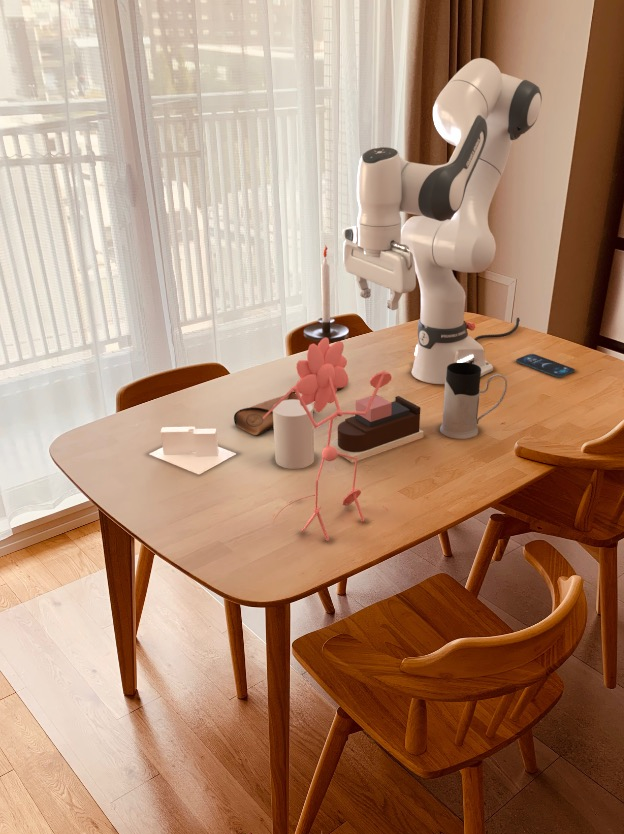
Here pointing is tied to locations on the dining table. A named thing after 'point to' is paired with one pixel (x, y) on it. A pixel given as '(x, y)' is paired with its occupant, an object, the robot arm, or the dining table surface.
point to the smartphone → (545, 365)
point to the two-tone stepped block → (379, 411)
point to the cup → (293, 435)
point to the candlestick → (326, 315)
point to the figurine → (321, 387)
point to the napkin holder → (191, 448)
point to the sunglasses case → (258, 416)
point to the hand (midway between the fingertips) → (378, 302)
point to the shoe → (377, 434)
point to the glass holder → (463, 400)
